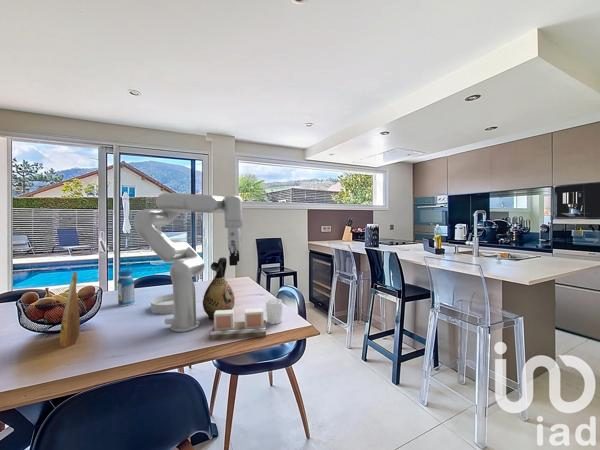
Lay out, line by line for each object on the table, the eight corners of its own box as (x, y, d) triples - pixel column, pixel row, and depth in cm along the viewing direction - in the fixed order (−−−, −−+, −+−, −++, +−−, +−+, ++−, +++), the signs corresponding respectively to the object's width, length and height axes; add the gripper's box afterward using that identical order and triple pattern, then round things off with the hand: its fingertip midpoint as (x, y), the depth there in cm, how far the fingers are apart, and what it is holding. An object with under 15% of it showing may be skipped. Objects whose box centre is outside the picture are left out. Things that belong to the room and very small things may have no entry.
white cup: (284, 319, 141) (284, 299, 141) (279, 325, 134) (279, 304, 133) (269, 318, 144) (269, 298, 143) (263, 323, 136) (263, 303, 135)
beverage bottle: (129, 306, 165) (127, 271, 164) (114, 306, 165) (113, 271, 164) (137, 301, 173) (136, 268, 173) (124, 301, 174) (122, 268, 173)
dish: (200, 301, 173) (200, 293, 173) (182, 314, 151) (181, 305, 151) (165, 301, 175) (164, 293, 175) (141, 314, 153) (141, 304, 153)
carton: (244, 328, 125) (244, 313, 125) (245, 324, 131) (245, 309, 130) (263, 327, 126) (263, 312, 126) (263, 323, 132) (263, 308, 131)
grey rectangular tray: (209, 340, 119) (209, 332, 119) (215, 327, 132) (215, 320, 132) (265, 336, 122) (265, 329, 122) (265, 324, 135) (265, 317, 135)
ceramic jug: (226, 324, 136) (225, 261, 135) (197, 322, 140) (195, 260, 138) (241, 311, 153) (239, 255, 152) (214, 310, 156) (212, 255, 155)
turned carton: (214, 330, 124) (213, 314, 124) (216, 325, 129) (215, 310, 129) (233, 329, 125) (232, 313, 125) (234, 324, 130) (234, 309, 130)
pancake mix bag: (85, 330, 132) (82, 269, 130) (78, 346, 115) (75, 277, 114) (66, 333, 128) (63, 271, 127) (57, 351, 112) (53, 279, 111)
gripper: (240, 224, 118) (241, 266, 118) (243, 223, 135) (244, 259, 135) (221, 225, 117) (222, 267, 117) (227, 223, 134) (228, 260, 135)
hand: (234, 263), depth 126 cm, fingers open, 9 cm apart
